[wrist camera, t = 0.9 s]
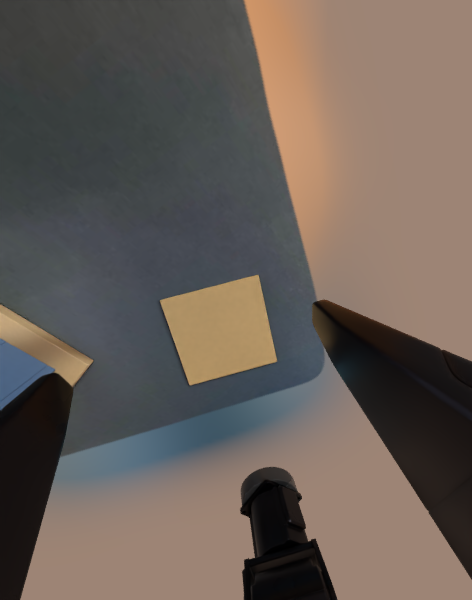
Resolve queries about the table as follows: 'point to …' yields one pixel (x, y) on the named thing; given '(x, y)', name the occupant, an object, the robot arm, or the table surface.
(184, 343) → the mat
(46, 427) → the robot arm
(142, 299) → the table surface
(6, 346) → the sleeve
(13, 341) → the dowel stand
